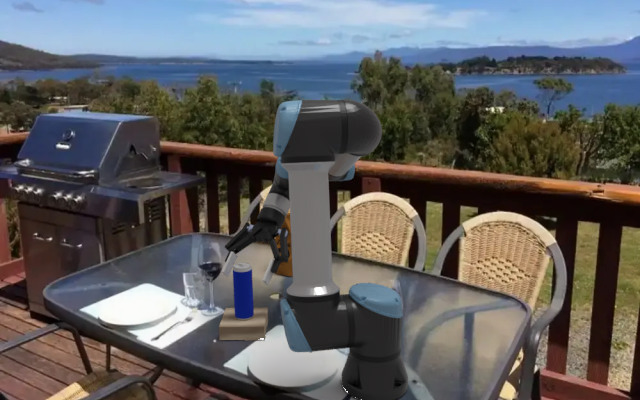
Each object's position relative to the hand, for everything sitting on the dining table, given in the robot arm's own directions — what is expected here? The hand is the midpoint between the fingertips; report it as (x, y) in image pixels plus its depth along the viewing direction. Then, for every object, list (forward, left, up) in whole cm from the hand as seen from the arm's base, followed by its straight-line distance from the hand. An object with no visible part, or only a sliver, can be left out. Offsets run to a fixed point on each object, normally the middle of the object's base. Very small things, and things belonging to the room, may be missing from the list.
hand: (244, 278), depth 155 cm
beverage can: (-1, 0, -11) cm, 11 cm away
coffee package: (+45, -11, -15) cm, 48 cm away
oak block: (-1, 0, -15) cm, 15 cm away
